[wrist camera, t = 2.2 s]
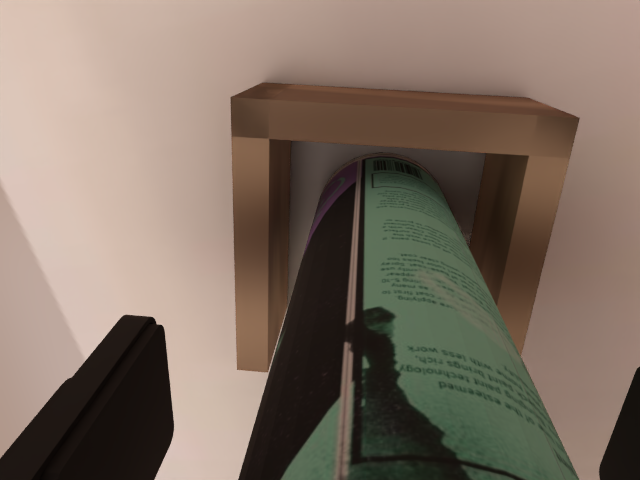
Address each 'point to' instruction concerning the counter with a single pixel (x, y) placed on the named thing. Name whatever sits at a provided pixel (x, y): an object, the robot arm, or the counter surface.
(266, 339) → the frame
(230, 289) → the counter surface
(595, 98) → the counter surface
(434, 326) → the spray can
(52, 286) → the counter surface
